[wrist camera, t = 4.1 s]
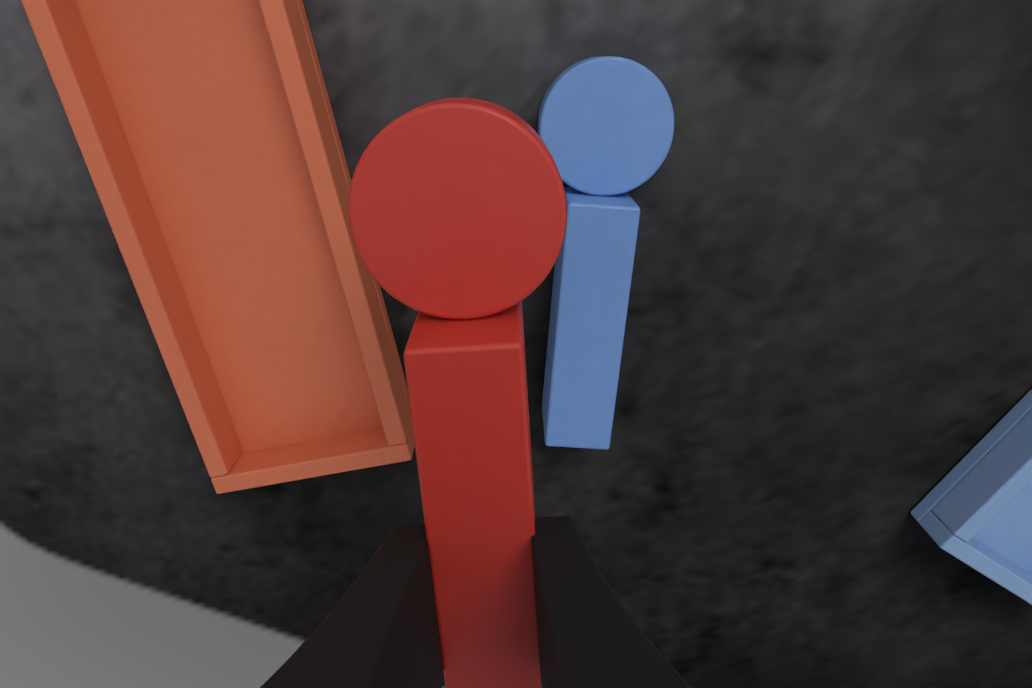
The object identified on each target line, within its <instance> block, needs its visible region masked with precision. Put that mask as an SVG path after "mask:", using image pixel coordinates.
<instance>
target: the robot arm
mask: <svg viewBox="0 0 1032 688" xmlns="http://www.w3.org/2000/svg"><path fill="white" fill-rule="evenodd" d="M535 533H536V534H535V535H534V536H531V539H532V556H533V571H534V586H535V601H536V616H537V631H538V645H539V660H540V675H541V685H542V688H692V687H691V686H690V685H689V684H688V683H687V682H686V681H685V680H684V679H683V677H682V676H681V675H680V674H679V673H678V672H677V671H676V670H675V669H674V668H673V667H672V666H671V665H670V663H669V662H668V661H667V660H666V659H665V658H664V657H663V656H662V654H661V653H660V652H659V651H658V650H657V649H656V647H655V646H654V645H653V644H652V643H651V641H650V640H649V639H648V638H647V636H646V635H645V634H644V633H643V631H642V630H641V629H640V628H639V626H638V625H637V624H636V622H635V621H634V620H633V619H632V617H631V616H630V614H629V613H628V612H627V610H626V609H625V608H624V606H623V605H622V603H621V602H620V600H619V599H618V597H617V596H616V594H615V593H614V591H613V590H612V588H611V587H610V586H609V584H608V583H607V581H606V580H605V578H604V576H603V575H602V573H601V572H600V570H599V568H598V567H597V565H596V563H595V561H594V560H593V558H592V556H591V554H590V552H589V551H588V549H587V547H586V545H585V543H584V541H583V539H582V536H581V534H580V532H579V529H578V527H577V523H576V522H575V521H574V520H573V519H572V518H571V517H570V516H559V517H542V518H535ZM442 684H443V661H442V653H441V645H440V637H439V629H438V621H437V613H436V605H435V597H434V590H433V582H432V574H431V566H430V558H429V550H428V542H427V538H426V530H425V524H419V525H402V526H395V528H394V529H393V530H392V531H391V532H390V533H389V534H388V536H387V537H386V539H385V540H384V541H383V543H382V544H381V546H380V547H379V549H378V550H377V551H376V553H375V554H374V556H373V557H372V558H371V560H370V561H369V563H368V564H367V565H366V567H365V568H364V569H363V571H362V572H361V573H360V575H359V576H358V577H357V579H356V580H355V581H354V583H353V584H352V585H351V586H350V588H349V589H348V590H347V591H346V593H345V594H344V595H343V597H342V598H341V599H340V600H339V602H338V603H337V604H336V605H335V607H334V608H333V609H332V610H331V612H330V613H329V614H328V615H327V616H326V618H325V619H324V620H323V621H322V622H321V623H320V624H319V626H318V627H317V628H316V629H315V630H314V631H313V632H312V634H311V635H310V636H309V637H308V638H307V639H306V640H305V641H304V643H303V644H302V645H301V646H300V647H299V648H298V649H297V651H296V652H295V653H294V654H293V655H292V656H291V657H290V658H289V659H288V660H287V661H286V662H285V663H284V664H283V665H282V666H281V667H280V668H279V669H278V670H277V671H276V673H274V674H273V675H272V676H271V677H270V678H269V679H268V680H267V682H265V683H264V684H263V685H262V686H261V687H260V688H442Z"/></svg>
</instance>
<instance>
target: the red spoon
mask: <svg viewBox="0 0 1032 688" xmlns="http://www.w3.org/2000/svg"><path fill="white" fill-rule="evenodd" d="M348 216H349V225H350V230H351V235H352V239H353V242H354V244H355V247H356V250H357V252H358V254H359V256H360V258H361V260H362V262H363V264H364V266H365V267H366V269H367V270H368V272H369V273H370V275H371V276H372V277H373V278H374V279H375V280H376V282H377V283H378V284H379V285H380V286H381V287H382V288H383V289H384V290H385V291H386V292H388V293H389V294H390V295H391V296H392V297H394V298H395V299H397V300H398V301H400V302H401V303H403V304H405V305H406V306H408V307H410V308H412V309H414V310H416V311H418V314H417V317H416V320H415V323H414V325H413V328H412V331H411V334H410V336H409V339H408V342H407V345H406V347H405V350H404V353H403V355H404V363H405V371H406V379H407V387H408V395H409V403H410V411H411V419H412V427H413V435H414V443H415V451H416V459H417V467H418V475H419V482H420V490H421V498H422V506H423V514H424V522H425V530H426V538H427V542H428V550H429V558H430V566H431V574H432V582H433V590H434V597H435V605H436V613H437V621H438V629H439V637H440V645H441V653H442V661H443V673H444V681H445V688H542V685H541V675H540V660H539V645H538V631H537V616H536V601H535V586H534V571H533V556H532V539H531V536H534V535H535V534H536V533H535V504H534V487H533V471H532V455H531V439H530V423H529V407H528V391H527V375H526V358H525V342H524V326H523V310H522V300H523V299H525V298H526V297H527V296H529V295H530V294H531V293H532V292H533V291H534V290H535V289H536V288H537V287H538V286H539V285H540V284H541V283H542V282H543V280H544V279H545V278H546V277H547V275H548V274H549V272H550V271H551V269H552V267H553V266H554V264H555V262H556V260H557V258H558V255H559V253H560V251H561V248H562V244H563V241H564V237H565V231H566V225H567V204H566V195H565V191H564V187H563V182H562V179H561V177H560V174H559V171H558V169H557V166H556V164H555V161H554V159H553V157H552V155H551V153H550V151H549V149H548V147H547V146H546V144H545V143H544V141H543V140H542V139H541V137H540V136H539V135H538V134H537V133H536V131H535V130H534V129H533V128H532V127H531V126H530V125H529V124H528V123H526V122H525V121H524V120H523V119H521V118H520V117H519V116H517V115H516V114H514V113H513V112H511V111H509V110H508V109H506V108H503V107H501V106H499V105H497V104H494V103H491V102H487V101H484V100H480V99H473V98H447V99H439V100H436V101H432V102H429V103H426V104H423V105H421V106H419V107H417V108H414V109H412V110H411V111H409V112H407V113H405V114H404V115H402V116H400V117H399V118H397V119H395V120H394V121H392V122H391V123H390V124H388V125H387V126H386V127H385V128H384V129H382V130H381V131H380V132H379V133H378V134H377V135H376V137H375V138H374V139H373V140H372V141H371V142H370V144H369V145H368V147H367V148H366V149H365V151H364V152H363V154H362V156H361V158H360V160H359V162H358V164H357V166H356V168H355V171H354V174H353V177H352V180H351V185H350V191H349V199H348Z"/></svg>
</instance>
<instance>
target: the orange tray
mask: <svg viewBox="0 0 1032 688" xmlns="http://www.w3.org/2000/svg"><path fill="white" fill-rule="evenodd" d="M21 1H22V4H23V6H24V9H25V11H26V14H27V16H28V19H29V21H30V24H31V26H32V29H33V31H34V34H35V36H36V39H37V42H38V44H39V47H40V49H41V52H42V54H43V57H44V59H45V62H46V64H47V67H48V69H49V72H50V74H51V77H52V79H53V82H54V84H55V87H56V89H57V92H58V95H59V97H60V100H61V102H62V105H63V107H64V110H65V112H66V115H67V117H68V120H69V122H70V125H71V127H72V130H73V132H74V135H75V137H76V140H77V142H78V145H79V148H80V150H81V153H82V155H83V158H84V160H85V163H86V165H87V168H88V170H89V173H90V175H91V178H92V180H93V183H94V185H95V188H96V190H97V193H98V195H99V198H100V201H101V203H102V206H103V208H104V211H105V213H106V216H107V218H108V221H109V223H110V226H111V228H112V231H113V233H114V236H115V238H116V241H117V243H118V246H119V248H120V251H121V253H122V256H123V259H124V261H125V264H126V266H127V269H128V271H129V274H130V276H131V279H132V281H133V284H134V286H135V289H136V291H137V294H138V296H139V299H140V301H141V304H142V306H143V309H144V312H145V314H146V317H147V319H148V322H149V324H150V327H151V329H152V332H153V334H154V337H155V339H156V342H157V344H158V347H159V349H160V352H161V354H162V357H163V359H164V362H165V365H166V367H167V370H168V372H169V375H170V377H171V380H172V382H173V385H174V387H175V390H176V392H177V395H178V397H179V400H180V402H181V405H182V407H183V410H184V412H185V415H186V418H187V420H188V423H189V425H190V428H191V430H192V433H193V435H194V438H195V440H196V443H197V445H198V448H199V450H200V453H201V455H202V458H203V460H204V463H205V465H206V468H207V471H208V473H209V476H210V477H212V478H211V481H212V483H213V486H214V488H215V491H216V493H217V494H221V493H226V492H232V491H238V490H243V489H249V488H255V487H261V486H266V485H272V484H278V483H283V482H289V481H295V480H301V479H306V478H312V477H318V476H323V475H329V474H335V473H341V472H346V471H352V470H358V469H364V468H369V467H375V466H381V465H386V464H392V463H398V462H404V461H409V460H411V458H412V454H413V450H414V446H415V443H414V435H413V427H412V419H411V411H410V403H409V395H408V387H407V384H406V380H405V376H404V373H403V369H402V365H401V362H400V358H399V354H398V351H397V347H396V343H395V340H394V336H393V332H392V329H391V325H390V321H389V318H388V314H387V310H386V306H385V303H384V299H383V295H382V292H381V288H380V285H379V284H378V283H377V282H376V280H375V279H374V278H373V277H372V276H371V275H370V273H369V272H368V270H367V269H366V267H365V266H364V264H363V262H362V260H361V258H360V256H359V254H358V252H357V250H356V247H355V244H354V242H353V239H352V235H351V230H350V225H349V216H348V199H349V191H350V185H351V178H350V174H349V170H348V167H347V163H346V159H345V156H344V152H343V148H342V145H341V141H340V137H339V134H338V130H337V126H336V122H335V119H334V115H333V111H332V108H331V104H330V100H329V97H328V93H327V89H326V86H325V82H324V78H323V75H322V71H321V67H320V64H319V60H318V56H317V53H316V49H315V45H314V42H313V38H312V34H311V30H310V27H309V23H308V19H307V16H306V12H305V8H304V5H303V1H302V0H21Z"/></svg>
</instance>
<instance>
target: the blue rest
mask: <svg viewBox="0 0 1032 688" xmlns="http://www.w3.org/2000/svg"><path fill="white" fill-rule="evenodd" d="M910 513H911V515H912V516H913V517H914V518H915V519H916V520H917V522H919V524H920V525H921V526H922V527H923V529H924V530H925V531H926V532H927V533H928V534H929V535H930V537H931V538H932V539H933V540H934V541H935V542H936V543H937V545H938V546H939V547H940V548H941V549H943V550H944V551H946V552H948V553H949V554H951V555H952V556H954V557H956V558H957V559H959V560H960V561H962V562H964V563H965V564H967V565H968V566H970V567H972V568H973V569H975V570H976V571H978V572H980V573H981V574H983V575H985V576H986V577H988V578H989V579H991V580H993V581H994V582H996V583H997V584H999V585H1001V586H1002V587H1004V588H1005V589H1007V590H1009V591H1010V592H1012V593H1013V594H1015V595H1017V596H1018V597H1020V598H1021V599H1023V600H1025V601H1026V602H1028V603H1029V604H1031V605H1032V389H1031V390H1030V391H1029V392H1028V393H1027V394H1026V395H1025V396H1024V397H1023V398H1022V399H1021V400H1020V401H1019V402H1018V403H1017V404H1016V405H1015V406H1014V407H1013V408H1012V409H1011V410H1010V411H1009V412H1008V413H1007V414H1006V415H1005V416H1004V417H1003V418H1002V419H1001V420H1000V421H999V422H998V423H997V424H996V425H995V426H994V427H993V428H992V429H991V430H990V431H989V432H988V433H987V435H986V436H985V437H984V438H983V439H982V440H981V441H980V442H979V443H978V444H977V445H976V446H975V447H974V448H973V449H972V450H971V451H970V452H969V453H968V454H967V455H966V456H965V457H964V458H963V459H962V460H961V461H960V462H959V463H958V464H957V465H956V466H955V467H954V468H953V469H952V470H951V471H950V472H949V473H948V474H947V475H946V476H945V477H944V478H943V479H942V480H941V481H940V482H939V483H938V484H937V485H936V486H935V487H934V488H933V489H932V490H931V491H930V492H929V493H928V494H927V496H926V497H925V498H924V499H923V500H922V501H921V502H920V503H919V504H918V505H917V506H916V507H915V508H914V509H913V510H912V511H911V512H910Z"/></svg>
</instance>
